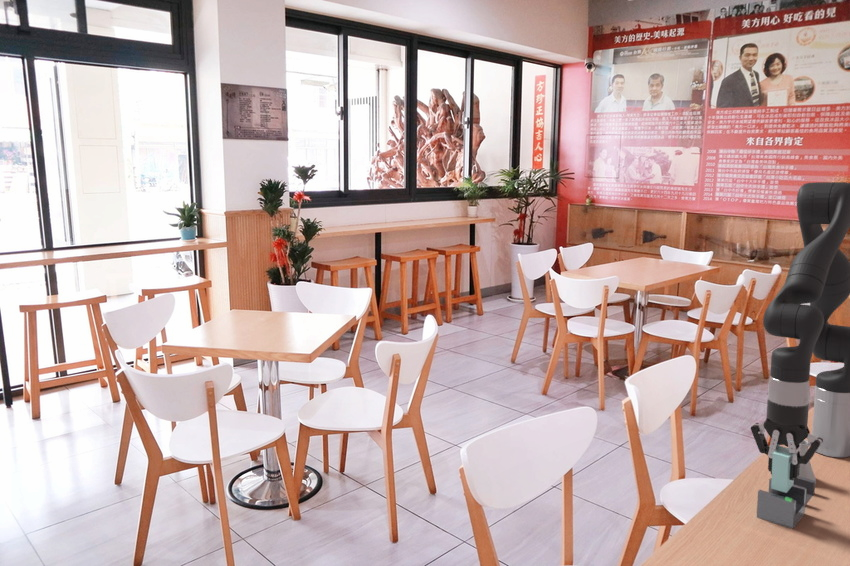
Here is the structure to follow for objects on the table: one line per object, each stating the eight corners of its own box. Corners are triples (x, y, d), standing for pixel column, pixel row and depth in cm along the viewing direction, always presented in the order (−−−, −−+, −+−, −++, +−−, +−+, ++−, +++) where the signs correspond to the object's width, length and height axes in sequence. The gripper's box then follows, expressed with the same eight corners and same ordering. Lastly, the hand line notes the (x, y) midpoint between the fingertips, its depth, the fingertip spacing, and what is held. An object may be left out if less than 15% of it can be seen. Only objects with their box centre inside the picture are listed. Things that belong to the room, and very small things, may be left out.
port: (769, 505, 145) (771, 475, 144) (804, 516, 140) (806, 485, 139) (755, 520, 140) (757, 489, 138) (792, 532, 135) (794, 500, 133)
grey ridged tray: (790, 488, 152) (791, 473, 152) (814, 495, 149) (815, 480, 148) (778, 501, 147) (779, 486, 146) (803, 509, 143) (804, 493, 142)
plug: (777, 480, 141) (779, 445, 139) (793, 484, 139) (795, 449, 137) (770, 488, 138) (772, 453, 136) (786, 493, 136) (788, 457, 134)
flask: (822, 489, 151) (825, 449, 149) (787, 487, 153) (790, 447, 151) (810, 475, 158) (813, 436, 156) (778, 473, 159) (780, 434, 158)
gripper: (832, 401, 133) (825, 480, 136) (758, 386, 143) (754, 460, 146) (821, 411, 128) (815, 493, 131) (745, 395, 138) (741, 472, 141)
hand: (783, 475), depth 138 cm, fingers closed on plug, 3 cm apart
